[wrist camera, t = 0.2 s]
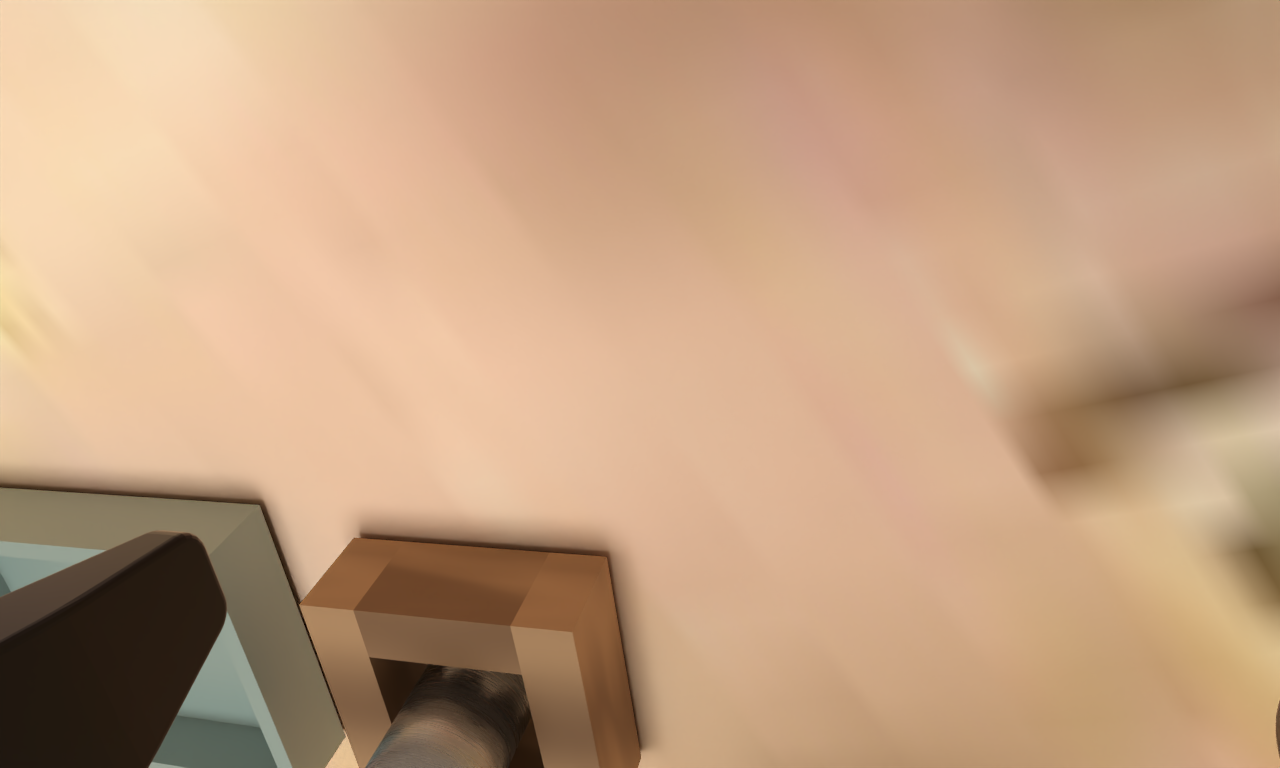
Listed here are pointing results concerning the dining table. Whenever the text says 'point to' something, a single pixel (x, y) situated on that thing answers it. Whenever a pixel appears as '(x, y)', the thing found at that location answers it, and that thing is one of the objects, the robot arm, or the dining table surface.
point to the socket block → (477, 642)
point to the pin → (457, 721)
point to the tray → (247, 645)
